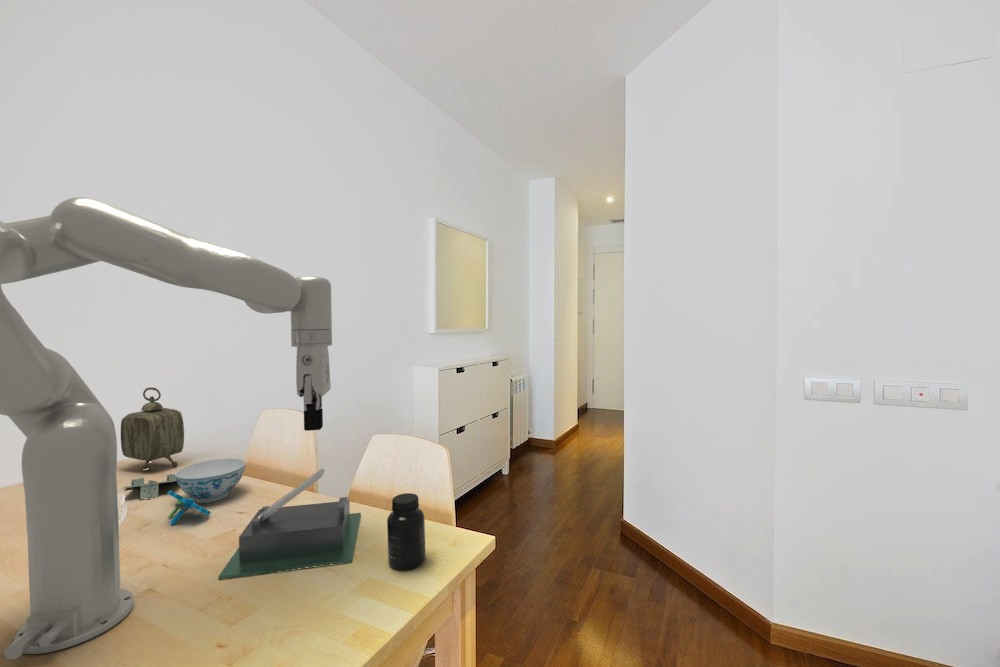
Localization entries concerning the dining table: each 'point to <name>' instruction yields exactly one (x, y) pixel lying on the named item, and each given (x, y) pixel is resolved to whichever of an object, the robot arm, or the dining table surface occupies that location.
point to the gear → (184, 506)
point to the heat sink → (295, 539)
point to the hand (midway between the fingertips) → (313, 428)
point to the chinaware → (210, 478)
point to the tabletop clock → (152, 432)
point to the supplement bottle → (406, 533)
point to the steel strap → (291, 495)
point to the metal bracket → (149, 486)
